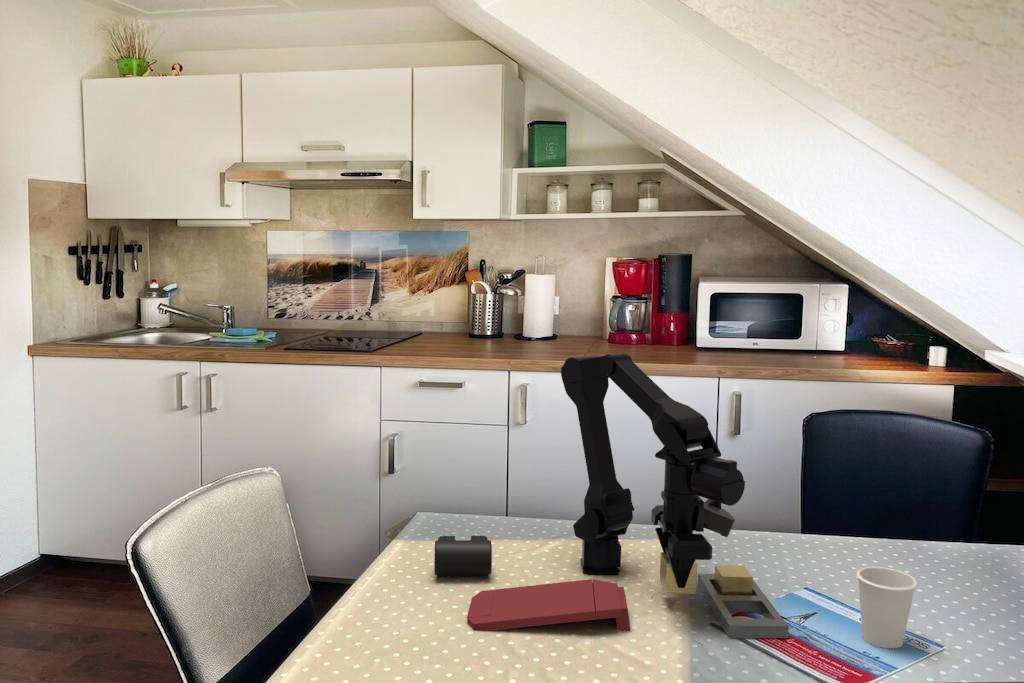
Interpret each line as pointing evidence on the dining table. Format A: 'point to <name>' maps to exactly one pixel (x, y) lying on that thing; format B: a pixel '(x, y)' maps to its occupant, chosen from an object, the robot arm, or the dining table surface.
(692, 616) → the dining table surface
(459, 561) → the end cap
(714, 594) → the grey slotted tray
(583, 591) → the red ramp
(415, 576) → the dining table surface
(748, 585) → the tan block seated
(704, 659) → the dining table surface
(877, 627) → the dixie cup
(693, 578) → the wooden cube
